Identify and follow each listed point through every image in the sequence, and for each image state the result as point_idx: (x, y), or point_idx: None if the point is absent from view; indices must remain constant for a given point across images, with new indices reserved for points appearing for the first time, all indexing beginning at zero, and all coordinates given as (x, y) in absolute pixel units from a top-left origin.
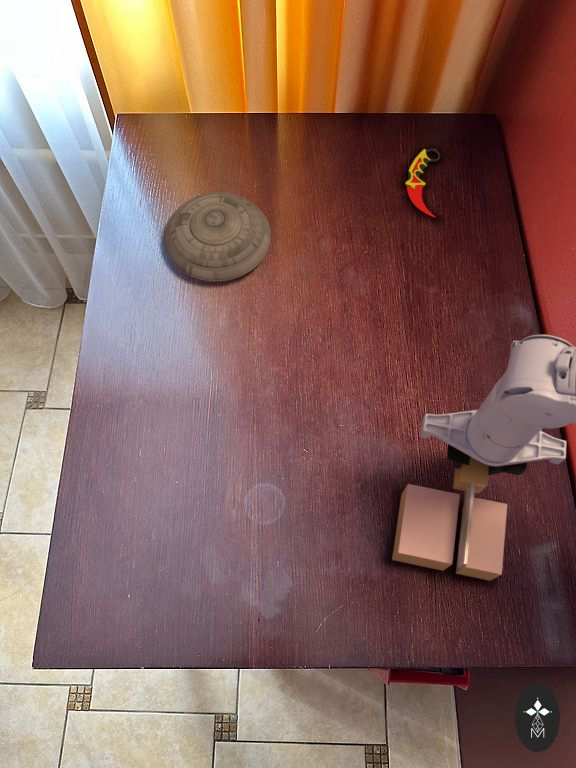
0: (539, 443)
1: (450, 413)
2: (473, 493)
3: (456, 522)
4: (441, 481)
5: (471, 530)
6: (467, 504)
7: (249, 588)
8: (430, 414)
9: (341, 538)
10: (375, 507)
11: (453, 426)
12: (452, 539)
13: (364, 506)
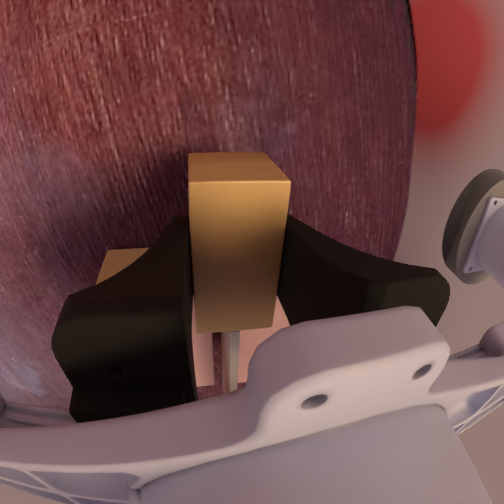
0: (473, 416)
1: (15, 463)
2: (236, 350)
3: (211, 338)
4: (178, 204)
5: (242, 341)
6: (226, 349)
7: (10, 378)
8: None
9: (54, 328)
10: (75, 280)
11: (73, 492)
12: (208, 361)
13: (59, 283)
